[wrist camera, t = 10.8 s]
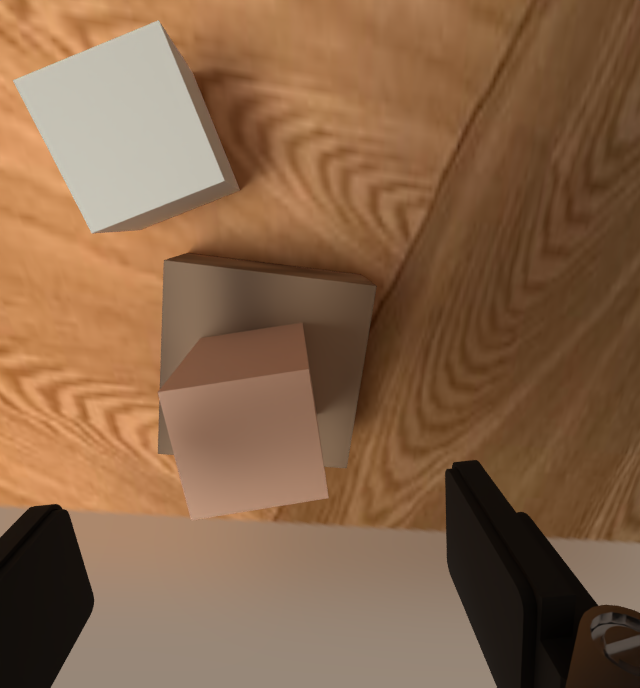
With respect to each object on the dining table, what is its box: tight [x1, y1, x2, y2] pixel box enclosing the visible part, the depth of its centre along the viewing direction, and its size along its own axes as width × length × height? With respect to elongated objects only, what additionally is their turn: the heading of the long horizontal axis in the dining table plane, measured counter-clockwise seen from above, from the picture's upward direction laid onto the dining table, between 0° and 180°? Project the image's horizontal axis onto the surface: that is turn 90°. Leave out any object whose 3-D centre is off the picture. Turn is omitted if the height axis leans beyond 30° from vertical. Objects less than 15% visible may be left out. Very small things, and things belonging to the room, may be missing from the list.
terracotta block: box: [158, 323, 329, 520], centre depth 18 cm, size 5×5×7 cm
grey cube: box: [13, 20, 240, 233], centre depth 20 cm, size 6×6×6 cm
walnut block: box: [158, 253, 377, 468], centre depth 24 cm, size 10×10×5 cm
